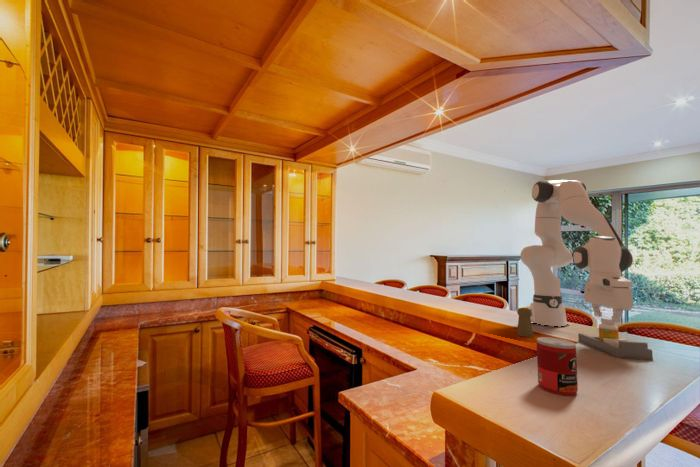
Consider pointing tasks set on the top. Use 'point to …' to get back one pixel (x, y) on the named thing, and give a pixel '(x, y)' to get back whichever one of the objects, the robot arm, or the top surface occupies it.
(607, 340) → the pale grey block
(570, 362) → the canned food
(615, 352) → the pusher lane
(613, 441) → the top surface
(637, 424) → the top surface
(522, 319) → the cork
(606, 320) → the supplement bottle
